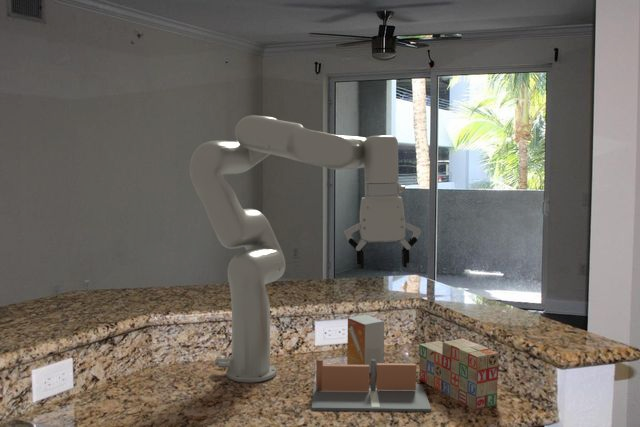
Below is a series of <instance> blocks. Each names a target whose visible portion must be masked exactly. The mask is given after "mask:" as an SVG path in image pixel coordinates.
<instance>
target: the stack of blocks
mask: <svg viewBox="0 0 640 427" xmlns="http://www.w3.org/2000/svg"><path fill="white" fill-rule="evenodd" d="M418 350H419V352H418V355H419V362H418V363H419V379H418V380H420V381H421V382H423V383H425V384H426V385H428V386H430V387H431V386H432V387H431V388H433V387H434V389H436V391H439V392H440V393H442V394H445V395H447V396H449V397H451V398H452V399H455V400H456V401H457V402H460V403H461V404H464V405H466V406H467V407H469V408H471V409H472V410H474V411H478V410H482V409H486V408H491V407H495V406H497V405H498V404H497V402H498V380H499V359H500V354H499V352H497V351H495V350H492V349H490V348H488V347H487V346H484V345H481V344H478V343H476V342H473V341H470V340H467V339H466V338H463V337H462V338H457V339H451V340H445V341H440V340H437V341H430V342H426V343H419V347H418Z"/></svg>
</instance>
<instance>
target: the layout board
mask: <svg viewBox="0 0 640 427" xmlns="http://www.w3.org/2000/svg"><path fill="white" fill-rule="evenodd" d="M376 387H377V383H376ZM428 399H429V398H428V397H427V393H426V390H425V388H424V385H423V384H420V383H419V384H418V383H416V390H377V388H376V391H371V383H369V391H316V382H315V383H313V387H312V399H311V411H329V412H330V411H333V412H334V411H338V412H340V411H341V412H342V411H343V412H344V411H345V412H346V411H348V412H352V411H353V412H355V411H356V412H432V407H431V404H430V402H429V400H428Z"/></svg>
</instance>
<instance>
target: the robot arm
mask: <svg viewBox="0 0 640 427" xmlns="http://www.w3.org/2000/svg"><path fill="white" fill-rule="evenodd" d="M234 135H235V139H236V140H209V141H206V142H203V143H202V144H200V145H198V146H197V148H195V150H194V151H193V153H192V156H191V159H190V162H189V176H190V180H191V183H192V186H193V187H194V190H195V192H196V193H197V196H198V197H199V199H200V201H201V203H202V205H203V207H204V210H205V212H206V215H207V217H208V219H209V222H210V224H211V226H212V229H213V232H214V233H215V236H216V237H217V240H218V241H219V243H220V244H221V246H223V247H225V248H226V249H231V250H232V249H240V248H244V249H245V250H244V251H243V250H242V251H241V252H239V253H237V254H236V255H234V256H233V257H232V258H231V260H230V261H229V262H228V266H227V280H228V285H229V290H230V299H231V300H230V301H231V345H232V346H231V352H232V355H231V356H228V357H225V358H224V357H215V358H214V359H215V361H214V363H215V366H218V368H227V369H226V372H225V373H226V374H225V376H226V377H227V378H228V379H229V380H232V381H235V382H239V383H259V382H260V383H261V382H264V381H268V380H271V379H272V378H274V377H275V376H276V375H277V368H276V367H275V366H274V365H273V364H271V312H270V311H271V310H270V309H271V305H270V298H269V294H268V291H267V287H266V285H268V284H270V283H273V282H276V281H277V280H280V279H281V278H282V277H283V275H284V273H285V270H286V266H287V265H286V258H285V255H284V252H283V250H282V248H281V245H280V244H279V242H278V239H277V236H276V235H275V233H274V232H275V231H274V230H273V227H272V226H271V223H270V222H269V219H267V217H266V216H265V215H264V214H263V213H262V212H261V211H259V210H258V209H254V208H243V207H242V204H240V201H239V199H238V197H237V194H236V192H235V190H234V189H233V187H232V186H231V185H230V184H229V182H227V181H226V179H225V178H224V175H237V174H243V173H245V172H248V171H249V170H251V169H252V168H254V167H255V166H256V165H258V163H261V162H262V161H263V160H265V159H266V158H267V157H269V156H270V155H273V156H276V157H277V156H278V157H280V158H286V159H289V160H293V161H295V162H296V161H297V162H301V163H304V164H308V165H312V166H317V167H321V168H327V169H330V170H337V171H339V170H342V171H343V170H357V169H362V168H364V197H361V200H360V206H359V222H358V223H356V224H355V225H353V226H351V227H349V228H347V229H345V230H344V231H343V234H344V236H345V238H346V240H347V242H348V244H350V246H352V247H353V248H354V249H355V251H356V264H357V265H359V268H360V269H364V268H365V264H364V261H365V259H364V250H363V247H364V246H365V245H366V244H367V243H393V242H395V243H396V242H399V243H400V244H401V245H402V248H401V266H402V267H403V268H408V264H410V250H411V248H412V247H414V245H415V244H416V242H418V240H419V238H420V236H421V233H422V230H421V229H420V228H419V227H417V226H415V225H413V224H411V223H409V222H407V221H406V220H405V219H406V217H405V208H404V202H403V197H402V196H399V195H400V194H401V193H403V192H406V185H402V184H400V183H399V143H398V139H397V137H396V136H394V135H387V134H386V135H371V136H367V137H363V136H356V135H354V136H353V135H343V134H342V135H339V134H338V135H337V134H333V133H329V132H322V131H317V130H312V129H308V128H306V127H304V126H303V125H302V124H301V123H297V122H293V121H287V120H281V119H277V118H275V117H272V116H266V115H255V114H254V115H253V114H251V115H247V116H245V117H243V118H241V119H240V120H239V121H238V122H237V124H236V126H235V130H234ZM406 229H407V230H409V231H410V232H413V234H412V236H411V237H410V238H409V240H406V236H407V235H406ZM357 231H359V238H360V239H359V240H358V241H356V240H355V239H354V237H353V235H352V234H354V233H355V232H357Z"/></svg>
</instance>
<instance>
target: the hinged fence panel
mask: <svg viewBox="0 0 640 427" xmlns="http://www.w3.org/2000/svg"><path fill="white" fill-rule="evenodd" d="M370 384H371V391H376V388H377V390H416V384H417V365H416V363H409V362H408V363H395V362H394V363H392V362H391V363H390V362H389V363H388V362H386V363H385V362H384V363H377V372H376V360H374V359H372V360H371V373H370ZM376 384H377V387H376Z"/></svg>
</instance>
